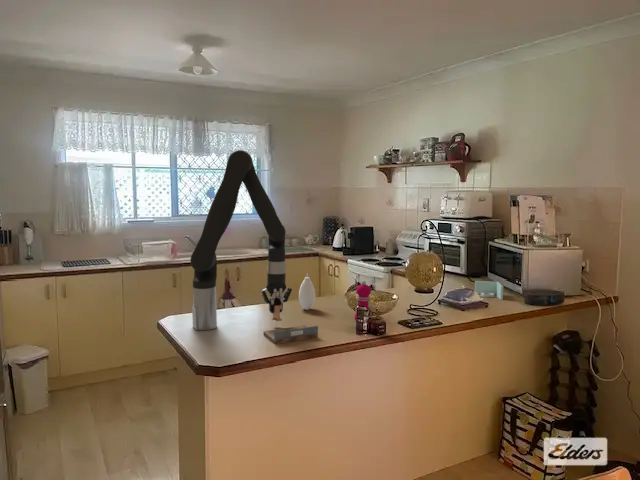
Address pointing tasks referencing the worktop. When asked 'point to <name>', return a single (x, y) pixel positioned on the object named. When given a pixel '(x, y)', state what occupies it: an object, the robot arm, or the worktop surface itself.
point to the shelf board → (270, 336)
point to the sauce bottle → (307, 294)
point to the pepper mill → (363, 296)
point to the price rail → (295, 332)
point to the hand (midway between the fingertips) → (276, 312)
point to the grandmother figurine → (277, 307)
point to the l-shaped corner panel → (489, 289)
